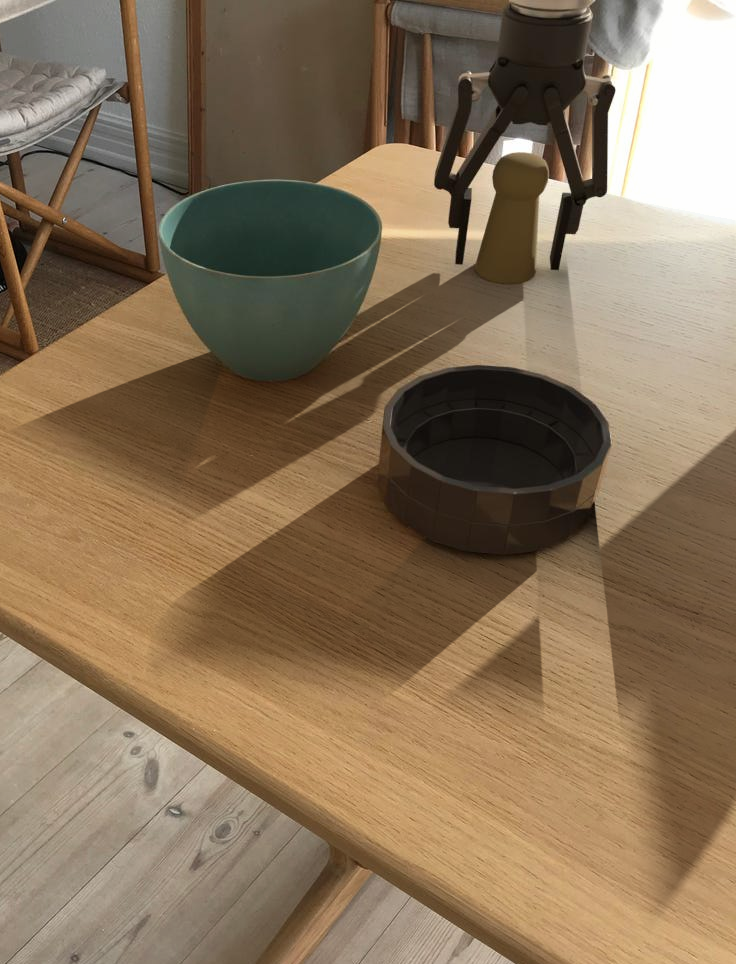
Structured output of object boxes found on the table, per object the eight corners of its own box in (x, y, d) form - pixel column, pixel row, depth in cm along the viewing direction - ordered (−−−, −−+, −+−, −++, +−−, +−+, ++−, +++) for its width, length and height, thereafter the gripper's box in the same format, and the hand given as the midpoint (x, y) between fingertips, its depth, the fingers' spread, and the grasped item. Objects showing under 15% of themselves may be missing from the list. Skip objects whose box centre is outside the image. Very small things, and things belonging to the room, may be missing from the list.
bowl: (585, 438, 84) (602, 373, 80) (600, 570, 73) (620, 502, 69) (385, 423, 86) (390, 358, 82) (369, 549, 75) (375, 482, 71)
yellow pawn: (522, 289, 102) (542, 174, 94) (465, 274, 104) (480, 161, 96) (544, 264, 105) (566, 152, 98) (488, 251, 108) (505, 140, 100)
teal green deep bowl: (293, 439, 84) (295, 298, 76) (127, 369, 92) (111, 234, 84) (410, 346, 94) (423, 212, 86) (251, 290, 102) (249, 162, 94)
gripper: (419, 14, 87) (396, 272, 103) (685, 22, 84) (619, 285, 100) (423, -11, 92) (401, 238, 108) (674, -4, 89) (613, 250, 105)
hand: (506, 261), depth 104 cm, fingers open, 9 cm apart
